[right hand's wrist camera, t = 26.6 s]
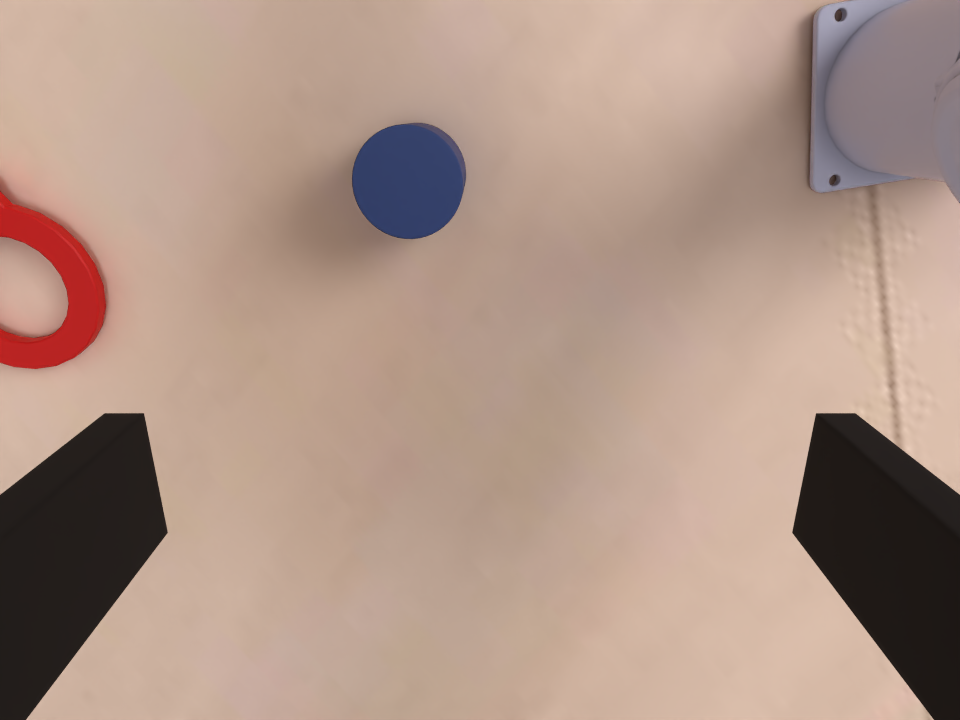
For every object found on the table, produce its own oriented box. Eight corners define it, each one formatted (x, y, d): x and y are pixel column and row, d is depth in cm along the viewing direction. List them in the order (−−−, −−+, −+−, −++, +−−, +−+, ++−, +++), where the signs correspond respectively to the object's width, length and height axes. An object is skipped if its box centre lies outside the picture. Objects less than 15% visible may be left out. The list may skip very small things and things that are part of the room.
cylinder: (350, 167, 31) (328, 176, 26) (422, 101, 30) (411, 98, 25) (414, 240, 32) (403, 261, 28) (485, 179, 31) (486, 190, 27)
